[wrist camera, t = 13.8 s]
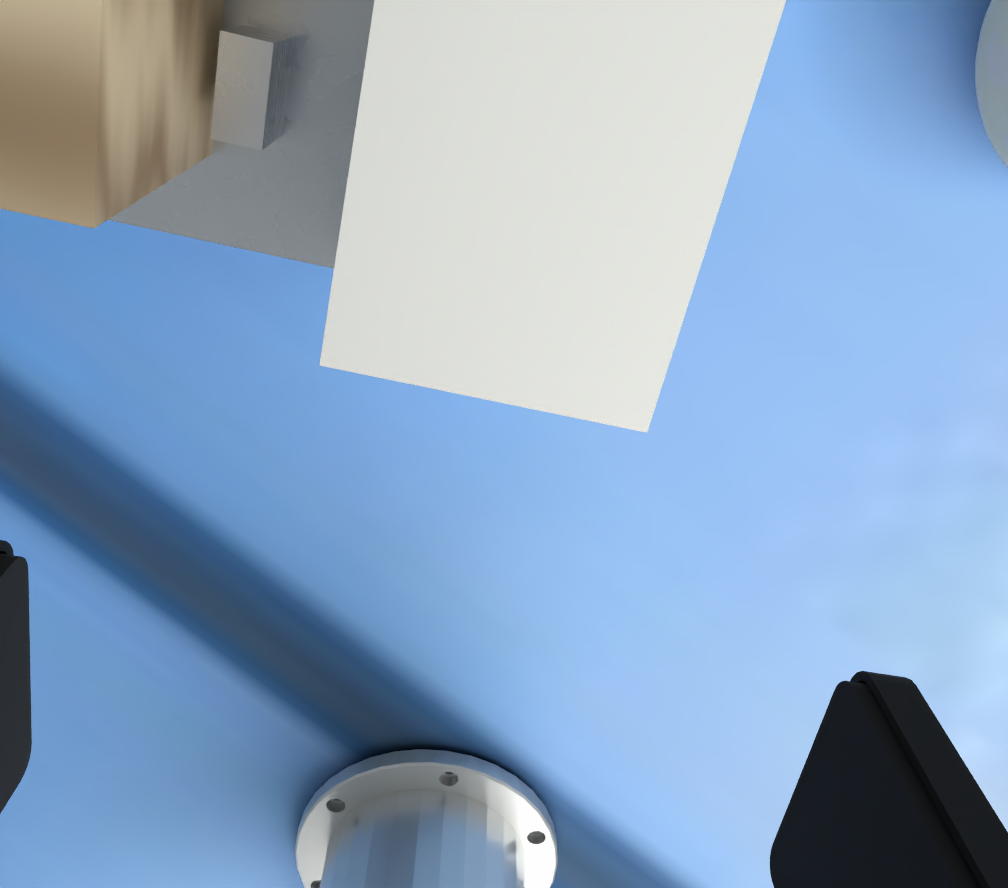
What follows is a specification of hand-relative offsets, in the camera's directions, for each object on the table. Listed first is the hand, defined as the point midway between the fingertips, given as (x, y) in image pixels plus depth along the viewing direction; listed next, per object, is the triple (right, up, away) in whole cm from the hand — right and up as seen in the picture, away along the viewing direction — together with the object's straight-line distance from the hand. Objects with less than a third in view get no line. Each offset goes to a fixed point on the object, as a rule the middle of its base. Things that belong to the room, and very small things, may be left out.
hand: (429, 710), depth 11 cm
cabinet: (+3, +17, +19) cm, 26 cm away
